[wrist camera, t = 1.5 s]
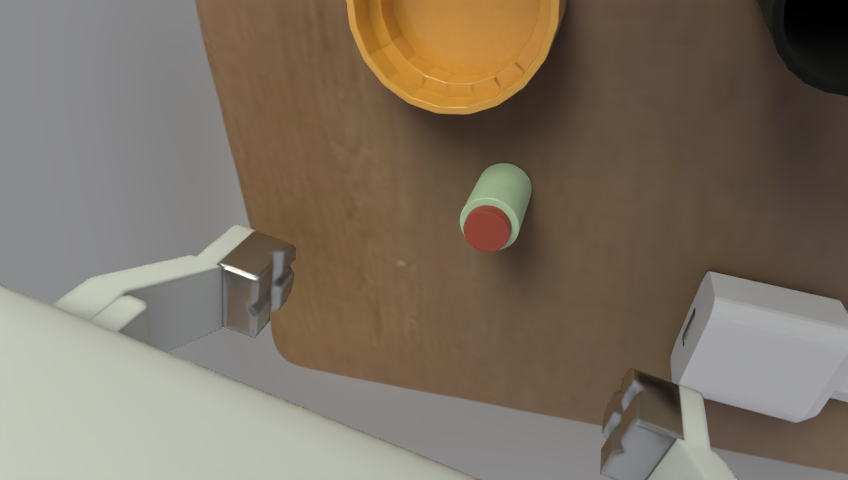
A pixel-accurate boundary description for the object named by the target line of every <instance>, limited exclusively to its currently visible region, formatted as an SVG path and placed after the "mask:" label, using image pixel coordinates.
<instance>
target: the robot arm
mask: <svg viewBox="0 0 848 480" xmlns="http://www.w3.org/2000/svg"><path fill="white" fill-rule="evenodd" d="M295 258H296V248H295V247H294V245H292V244H290V243H287V242H285V241H282V240H279V239H277V238H274V237H272V236H269V235H267V234H264V233H261V232H259V231H255V230H253V229H250V228H248V227H245V226H242V225H240V224H239V225H234V226H233V227H232V228H230V229H229V230H228V231H227V232H226V233H224V234H223V235H222V236H221V237H219V238H218V239H217V240H216V241H215V242H213V243H212V244H211V245H210V246H209V247H207V248H206V249H205V250H204V251H202V252H201V253H200V254H199V255H198V256H196V257H195V256H192V255H189V256H184V257H180V258H175V259H171V260H166V261H162V262H157V263H153V264H149V265H144V266H140V267H136V268H131V269H127V270H122V271H118V272H113V273H109V274H105V275H100V276H96V277H91V278H89V279H88V280H86V281H85V282H83V283H82V284H81V285H79V286H78V287H76V288H75V289H73V290H72V291H71V292H70V293H68V294H66V295H65V296H63V297H62V298H61V299H59V300H58V301H56V302H55V303H54V304H52V305H51V304H48V303H46V302H43V301H41V300H38V299H36V298H33V297H31V296H29V295H26V294H24V293H21V292H19V291H16V290H14V289H11V288H9V287H7V286H4V285H2V284H0V480H480V479H478V478H475V477H473V476H471V475H468V474H466V473H463V472H460V471H458V470H456V469H453V468H451V467H449V466H446V465H444V464H441V463H439V462H436V461H434V460H431V459H429V458H427V457H424V456H421V455H419V454H417V453H414V452H412V451H409V450H407V449H404V448H402V447H399V446H397V445H395V444H392V443H390V442H387V441H385V440H382V439H380V438H377V437H375V436H372V435H370V434H367V433H365V432H362V431H360V430H357V429H355V428H353V427H350V426H347V425H345V424H343V423H340V422H338V421H335V420H333V419H330V418H328V417H326V416H323V415H321V414H318V413H316V412H313V411H311V410H308V409H306V408H303V407H301V406H299V405H296V404H294V403H291V402H289V401H286V400H284V399H281V398H279V397H276V396H274V395H272V394H269V393H267V392H264V391H262V390H259V389H257V388H254V387H252V386H249V385H247V384H244V383H242V382H239V381H237V380H234V379H232V378H230V377H227V376H225V375H222V374H220V373H217V372H215V371H213V370H210V369H208V368H205V367H203V366H200V365H198V364H195V363H193V362H190V361H188V360H186V359H183V358H181V357H178V356H176V355H173V354H171V353H168V352H169V351H171V350H173V349H176V348H178V347H180V346H183V345H185V344H187V343H189V342H192V341H194V340H196V339H199V338H201V337H203V336H205V335H208V334H210V333H212V332H214V331H217V330H219V329H221V328H222V326H223V327H226V328H228V329H231V330H234V331H237V332H239V333H242V334H245V335H248V336H250V337H253V338H255V337H256V336H257V335H258V334H259V333H260V331H261V330H262V329H263V328H264V327H265V325H266V324H267V323H268V322H269V321H270V312H272V311H275V310H278V309H280V308H281V307H282V305H283V304H284V303H285V302H286V300H287V298H288V296H289V294H290V292H291V289H292V285H293V281H294V273H293V271H292V269H291V267H290V265H291V264H292V263H293V262H294V260H295ZM602 433H603V434H604V436H605V437H606V439H607V441H606V442H605V444H604V446H603V447H602V449H601V471H600V474H602V475H604V476H606V477H609V478H611V479H614V480H738V479H737V478H736V476H735V475H734V474H733V472H732V471H731V470H730V469H729V467H728V466H727V465H726V463H725V462H724V461H723V459H722V458H721V457H720V456H719V454H718V453H715V452H713V451H711V446H710V440H709V433H708V426H707V420H706V413H705V407H704V400H703V395H702V393H701V392H700V391H698V390H695V389H692V388H689V387H686V386H683V385H680V384H677V383H676V384H675V383H673V382H670V381H667V380H664V379H662V378H659V377H656V376H653V375H650V374H648V373H645V372H642V371H639V370H636V369H634V368H630V369H629V370H628V371H627V372H626V374H625V375H624V377H623V378H622V390H620V391H617V392H614V394H613V396H612V398H611V399H610V401H609V403H608V406H607V409H606V412H605V415H604V420H603V431H602Z"/></svg>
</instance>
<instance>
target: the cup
mask: <svg viewBox="0 0 848 480" xmlns="http://www.w3.org/2000/svg"><path fill="white" fill-rule="evenodd" d="M758 2H759V5H760V7H761V10H762V12H763V15H764V18H765V20H766V23H767V26H768V28H769V31H770V33H771V36H772V39H773V41H774V44H775V47H776V49H777V52H778V54H779V55H780V57H781V58H782V60H783V61H784V63H785V64H786V66H787V68H788V69H789V70H790V71H791V72H792V73H793V74H795V75H796V76H797V77H798V78H799V79H801V80H802V81H803V82H804V83H806V84H808V85H810V86H812V87H815V88H817V89H819V90H822V91H824V92H827V93H833V94H838V95H844V96H848V0H758Z"/></svg>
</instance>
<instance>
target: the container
mask: <svg viewBox="0 0 848 480" xmlns="http://www.w3.org/2000/svg"><path fill="white" fill-rule="evenodd" d="M531 193H532V186H531V182H530V179H529V177H528V176H527V175H526V173H525V172H524V171H523V170H522V169H520V168H519V167H517V166H515V165H512V164H508V163H499V164H494V165H492V166H490V167H488V168H487V169H485V170H484V172H483V173H482V174H481V176H480V178H479V180H478V182H477V184H476V186H475V187H474V189H473V191H472V193H471V195H470V197H469V199H468V201H467V203H466V205H465V207H464V208H463V210H462V212H461V215H460V227H461V230H462V232H463V234H464V236H465V238H466V240H467V241H468V242H469V244H470V245H472V246H473V247H474V248H476V249H478V250H480V251H484V252H493V251H497V250H501V249H504V248H506V247H508V246H510V245H511V244H512V243H513V242H514V241H515V240H516V238H517V236H518V234H519V231H520V227H521V224H522V221H523V218H524V215H525V212H526V209H527V206H528V203H529V200H530V197H531Z"/></svg>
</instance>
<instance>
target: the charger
mask: <svg viewBox="0 0 848 480" xmlns="http://www.w3.org/2000/svg"><path fill="white" fill-rule="evenodd" d="M670 363H671V375H672V382H673V383H675V384H676V383H677V384H680V385H683V386H686V387H689V388H692V389H695V390H698V391H700V392H701V393H702V395H703V398H706V399H709V400H713V401H717V402H721V403H724V404H728V405H732V406H736V407H739V408H743V409H747V410H750V411H754V412H758V413H762V414H765V415H769V416H773V417H777V418H780V419H784V420H788V421H791V422H795V423H798V422H801V421H803V420H806V419H809V418H812V417H815V416H817V415H818V414H819V412H820V411H821V409H822V408H823V407H824V405H825V404H826V402H827V401H828V399H829V398H833V399H837V400H841V401H844V402H848V313H847V311H846V310H845V308H844V306H843V304H842V303H841V301H839V300H836V299H832V298H827V297H823V296H818V295H814V294H809V293H805V292H800V291H796V290H791V289H787V288H783V287H778V286H774V285H769V284H765V283H760V282H756V281H751V280H747V279H742V278H738V277H733V276H729V275H724V274H720V273H715V272H711V271H708V272H707V273H706V275H705V276H704V278H703V280H702V282H701V284H700V287H699V289H698V291H697V294H696V296H695V298H694V300H693V303H692V305H691V307H690V310H689V312H688V314H687V317H686V319H685V321H684V323H683V326H682V328H681V330H680V333H679V335H678V337H677V339H676V342H675V344H674V347H673V350H672V354H671V360H670Z"/></svg>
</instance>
